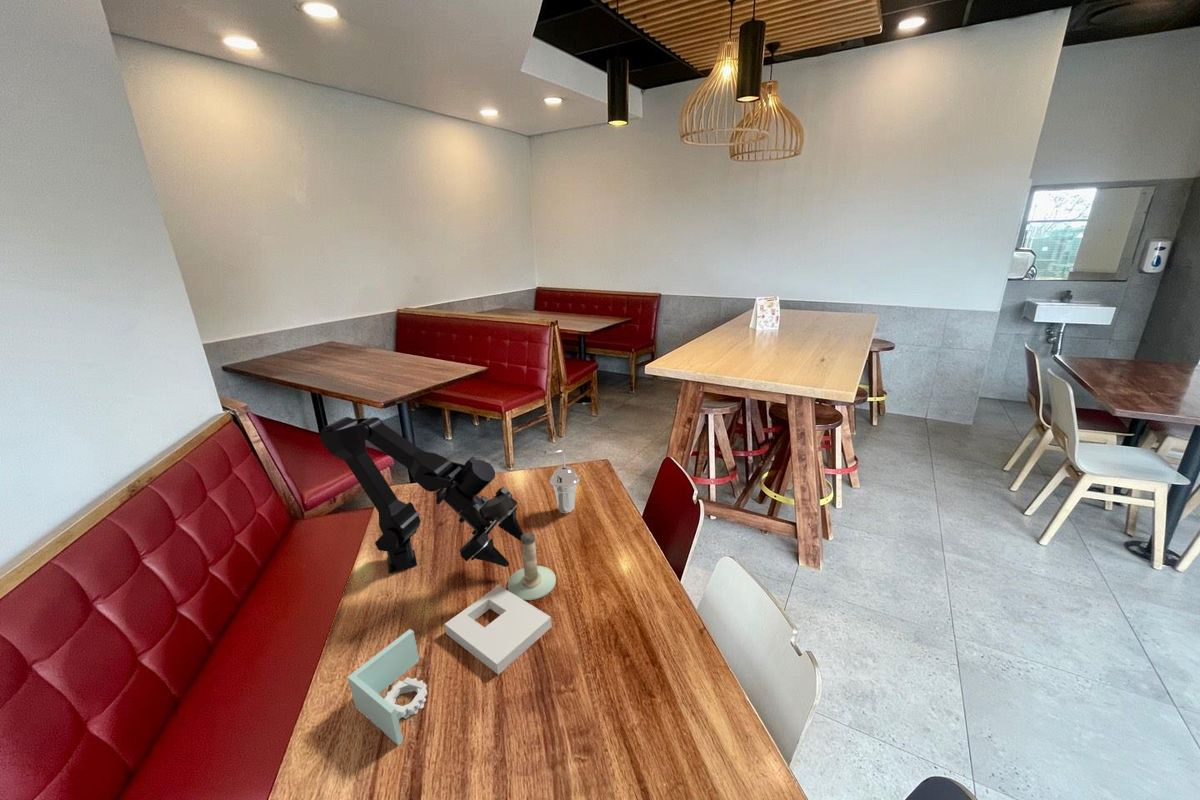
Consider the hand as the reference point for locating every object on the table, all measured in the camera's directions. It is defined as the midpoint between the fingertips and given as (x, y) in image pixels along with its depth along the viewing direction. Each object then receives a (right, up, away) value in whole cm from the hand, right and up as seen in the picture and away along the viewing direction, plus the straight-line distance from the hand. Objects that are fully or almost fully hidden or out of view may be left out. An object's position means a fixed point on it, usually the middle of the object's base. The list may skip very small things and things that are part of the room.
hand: (516, 552), depth 107 cm
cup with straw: (+9, +2, +31) cm, 32 cm away
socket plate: (-2, -12, -11) cm, 17 cm away
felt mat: (+3, -7, +2) cm, 8 cm away
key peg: (+3, -7, +1) cm, 8 cm away
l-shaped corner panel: (-14, -18, -25) cm, 34 cm away
